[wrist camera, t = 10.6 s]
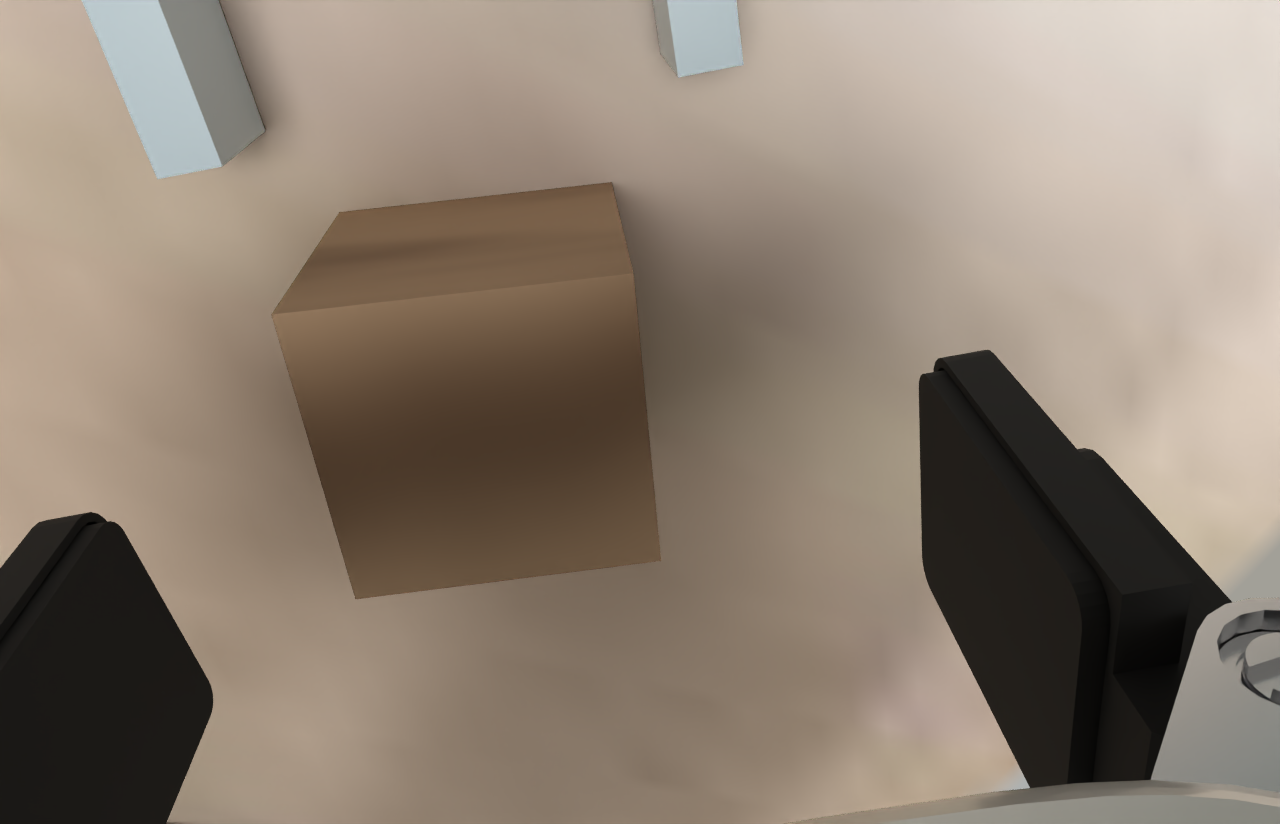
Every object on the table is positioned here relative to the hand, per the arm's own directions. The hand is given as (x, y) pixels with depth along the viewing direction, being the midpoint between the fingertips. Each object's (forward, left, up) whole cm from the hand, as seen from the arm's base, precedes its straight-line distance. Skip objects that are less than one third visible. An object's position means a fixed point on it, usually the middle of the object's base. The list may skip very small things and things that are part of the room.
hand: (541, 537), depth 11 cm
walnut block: (-1, +1, -8) cm, 8 cm away
